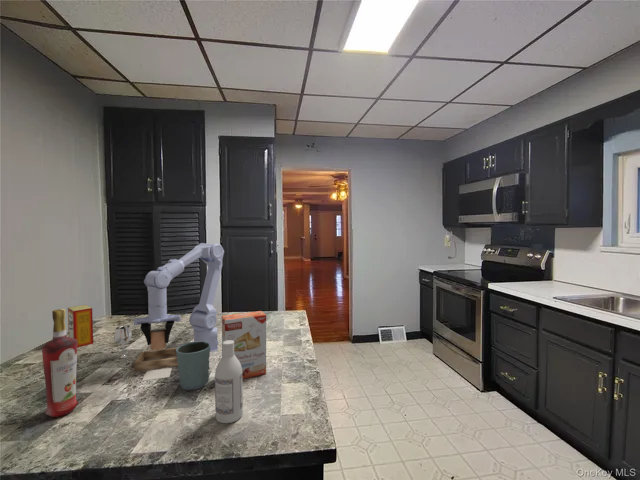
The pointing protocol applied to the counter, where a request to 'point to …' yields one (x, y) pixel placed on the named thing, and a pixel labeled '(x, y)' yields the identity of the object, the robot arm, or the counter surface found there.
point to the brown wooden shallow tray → (156, 359)
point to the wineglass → (122, 336)
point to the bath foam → (228, 386)
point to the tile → (157, 374)
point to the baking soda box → (80, 324)
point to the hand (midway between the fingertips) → (158, 343)
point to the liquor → (60, 368)
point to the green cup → (193, 364)
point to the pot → (157, 339)
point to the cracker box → (247, 340)
